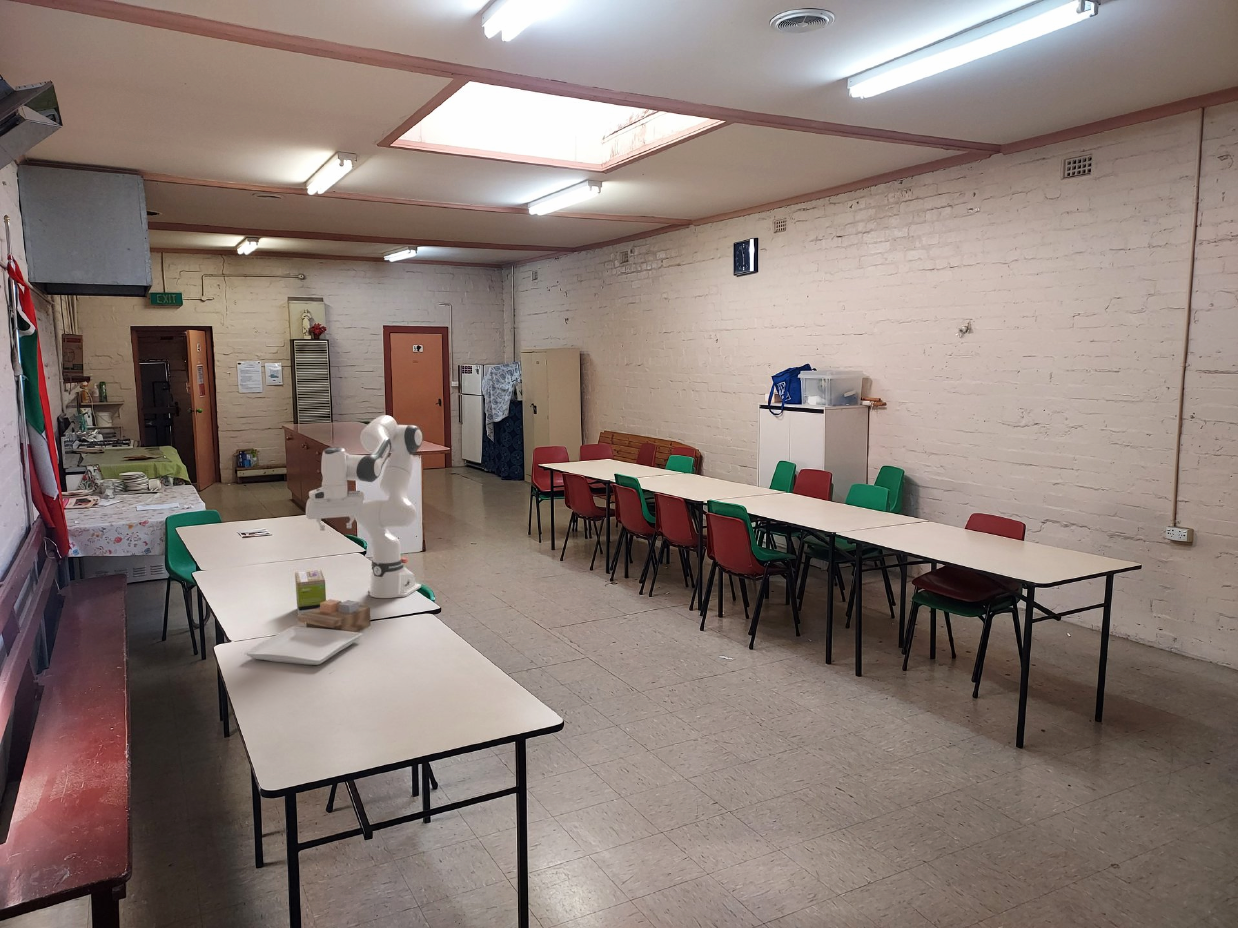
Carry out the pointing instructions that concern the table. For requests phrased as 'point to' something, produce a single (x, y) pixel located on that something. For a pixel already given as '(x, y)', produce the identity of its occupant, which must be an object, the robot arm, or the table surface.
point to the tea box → (309, 590)
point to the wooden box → (337, 619)
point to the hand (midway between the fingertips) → (335, 529)
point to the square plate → (303, 645)
